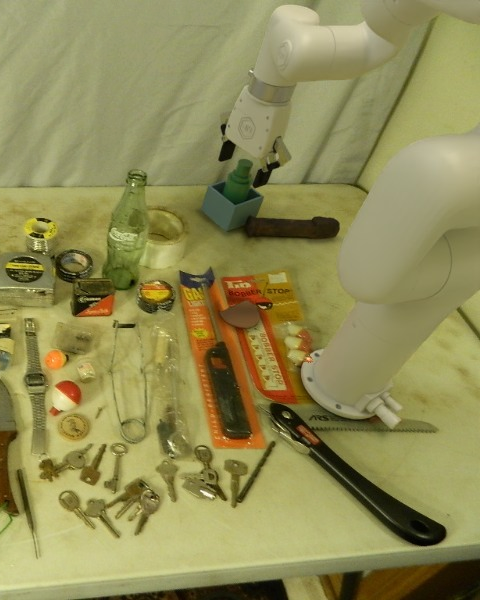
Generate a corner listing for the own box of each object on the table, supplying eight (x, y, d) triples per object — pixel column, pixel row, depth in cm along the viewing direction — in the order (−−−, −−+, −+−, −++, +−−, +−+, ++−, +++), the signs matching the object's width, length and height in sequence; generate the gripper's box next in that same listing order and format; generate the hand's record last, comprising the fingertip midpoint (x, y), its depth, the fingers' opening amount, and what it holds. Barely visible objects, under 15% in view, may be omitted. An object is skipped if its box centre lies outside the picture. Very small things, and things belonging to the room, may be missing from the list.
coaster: (267, 319, 91) (268, 318, 91) (237, 334, 88) (238, 332, 88) (239, 293, 95) (240, 292, 95) (210, 306, 92) (210, 305, 92)
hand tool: (246, 240, 106) (253, 221, 102) (242, 227, 108) (249, 209, 105) (338, 247, 106) (349, 229, 103) (332, 234, 109) (342, 216, 106)
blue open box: (254, 222, 110) (264, 196, 105) (225, 233, 106) (235, 207, 102) (228, 201, 114) (237, 175, 109) (200, 211, 111) (207, 185, 106)
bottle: (244, 218, 110) (264, 166, 101) (227, 225, 108) (245, 172, 99) (228, 205, 112) (246, 153, 103) (210, 211, 110) (227, 159, 101)
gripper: (221, 69, 94) (198, 154, 106) (293, 115, 84) (258, 202, 97) (251, 63, 97) (225, 146, 109) (325, 106, 87) (287, 191, 100)
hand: (241, 172), depth 103 cm, fingers open, 9 cm apart
